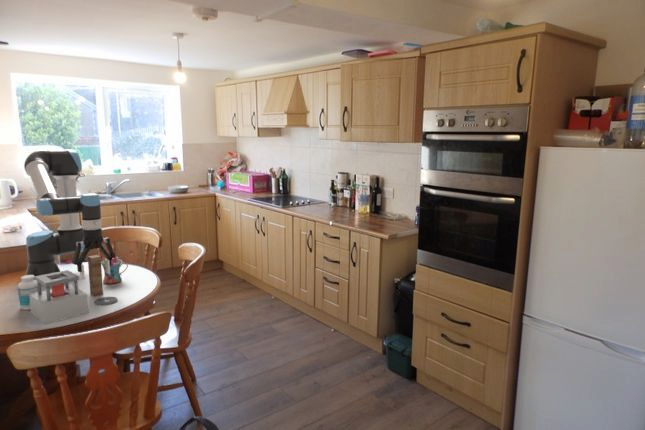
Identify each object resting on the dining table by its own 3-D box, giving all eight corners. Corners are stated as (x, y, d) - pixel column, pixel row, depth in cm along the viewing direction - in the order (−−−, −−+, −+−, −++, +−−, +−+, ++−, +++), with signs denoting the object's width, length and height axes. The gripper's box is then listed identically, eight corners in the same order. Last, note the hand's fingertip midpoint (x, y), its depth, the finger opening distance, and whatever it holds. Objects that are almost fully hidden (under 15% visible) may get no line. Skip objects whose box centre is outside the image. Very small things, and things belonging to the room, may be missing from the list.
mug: (102, 285, 208) (100, 264, 206) (102, 280, 216) (100, 259, 214) (129, 282, 214) (128, 262, 212) (128, 277, 222) (127, 257, 220)
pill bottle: (26, 303, 184) (23, 273, 181) (45, 303, 184) (42, 273, 182) (16, 310, 176) (12, 279, 174) (35, 310, 177) (32, 279, 175)
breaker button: (51, 303, 175) (49, 284, 173) (63, 300, 178) (61, 282, 176) (55, 306, 172) (53, 287, 170) (67, 303, 175) (65, 284, 174)
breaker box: (30, 312, 174) (27, 276, 172) (73, 302, 187) (70, 268, 184) (44, 324, 164) (41, 285, 162) (88, 312, 176) (86, 276, 174)
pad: (91, 301, 188) (91, 300, 188) (111, 296, 195) (111, 295, 195) (99, 307, 182) (99, 305, 182) (121, 301, 189) (121, 300, 189)
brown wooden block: (90, 294, 197) (87, 256, 193) (99, 292, 200) (96, 254, 197) (94, 296, 194) (91, 258, 191) (103, 294, 197) (100, 256, 194)
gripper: (67, 233, 180) (71, 283, 184) (121, 226, 198) (124, 272, 202) (60, 230, 185) (64, 279, 189) (114, 223, 203) (117, 268, 206)
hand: (95, 275), depth 195 cm, fingers open, 10 cm apart
